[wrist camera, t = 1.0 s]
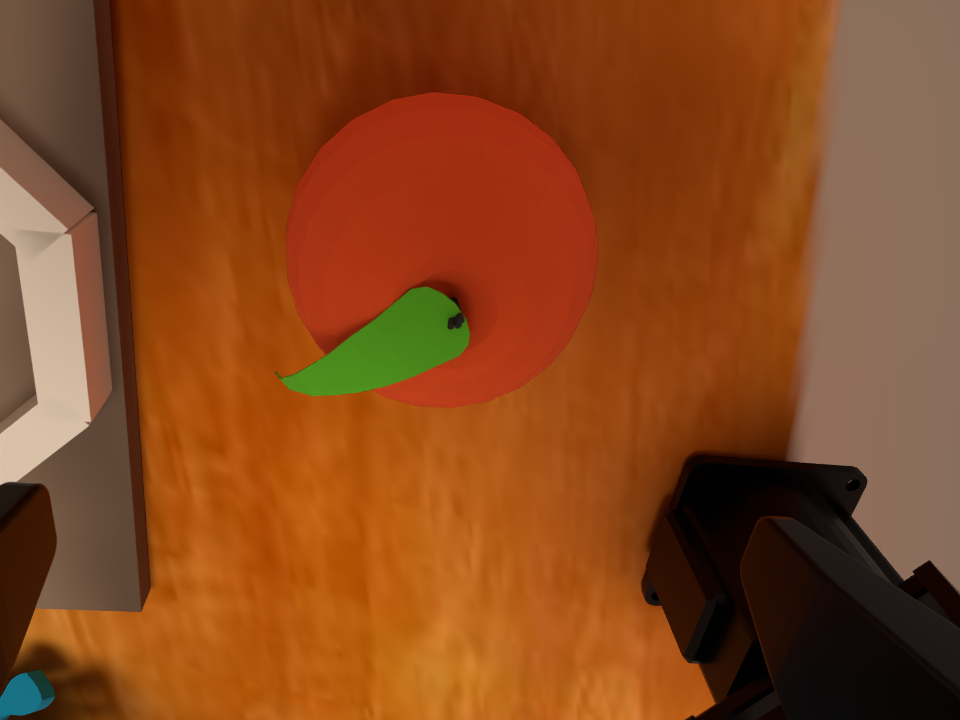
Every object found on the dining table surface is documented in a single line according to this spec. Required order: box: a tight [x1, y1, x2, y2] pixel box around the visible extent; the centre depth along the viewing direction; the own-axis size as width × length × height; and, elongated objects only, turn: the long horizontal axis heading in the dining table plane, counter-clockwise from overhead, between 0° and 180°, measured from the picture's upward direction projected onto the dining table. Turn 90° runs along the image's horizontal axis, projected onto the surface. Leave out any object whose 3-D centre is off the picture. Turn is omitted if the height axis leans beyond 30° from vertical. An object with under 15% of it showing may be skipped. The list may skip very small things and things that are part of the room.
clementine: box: [275, 92, 598, 408], centre depth 17 cm, size 8×7×7 cm
